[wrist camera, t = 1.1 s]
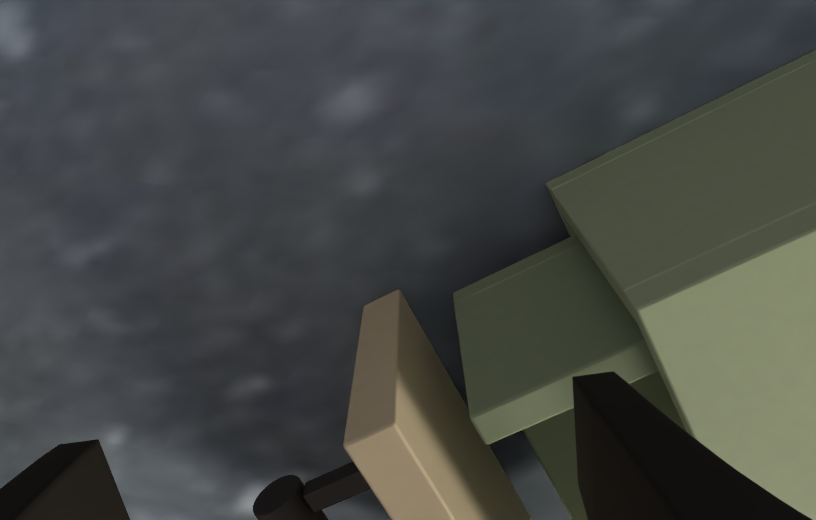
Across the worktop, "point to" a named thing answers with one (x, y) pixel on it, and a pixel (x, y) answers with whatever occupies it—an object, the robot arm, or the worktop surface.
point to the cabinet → (721, 268)
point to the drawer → (477, 394)
